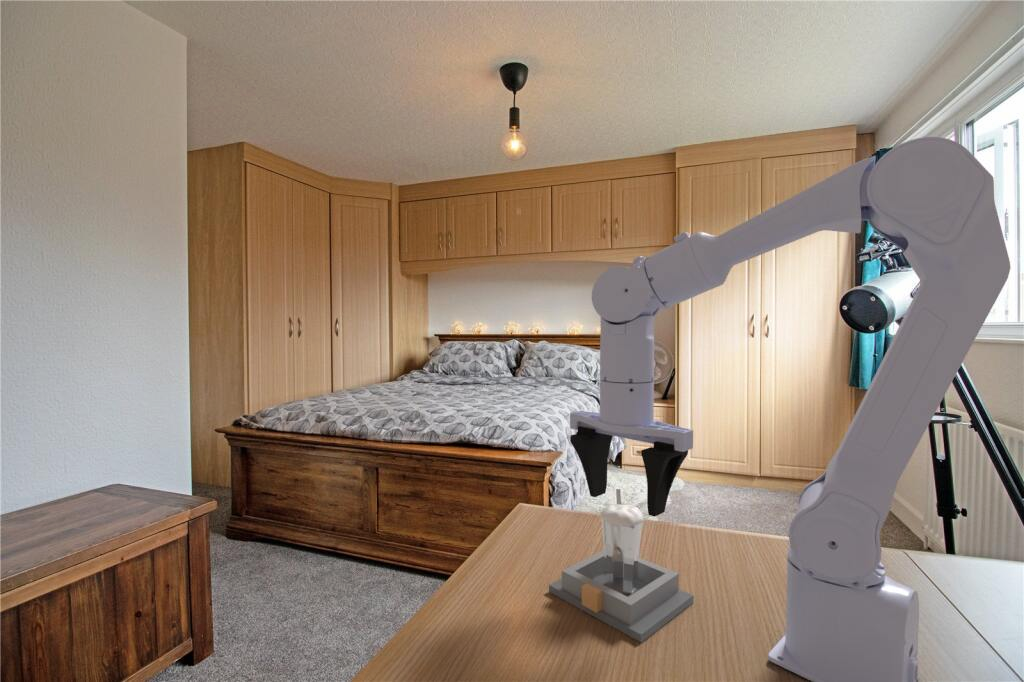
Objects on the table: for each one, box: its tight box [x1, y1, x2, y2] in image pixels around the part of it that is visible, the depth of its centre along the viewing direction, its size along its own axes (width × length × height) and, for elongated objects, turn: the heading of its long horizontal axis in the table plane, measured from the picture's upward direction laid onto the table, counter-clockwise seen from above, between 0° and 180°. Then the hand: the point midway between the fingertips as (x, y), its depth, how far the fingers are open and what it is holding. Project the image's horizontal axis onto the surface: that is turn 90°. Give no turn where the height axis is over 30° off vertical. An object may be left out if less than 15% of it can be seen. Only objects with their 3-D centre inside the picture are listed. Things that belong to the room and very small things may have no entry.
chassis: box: [548, 549, 695, 644], centre depth 55 cm, size 12×10×3 cm
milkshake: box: [600, 488, 644, 594], centre depth 56 cm, size 4×5×10 cm
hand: (625, 503), depth 55 cm, fingers open, 7 cm apart
